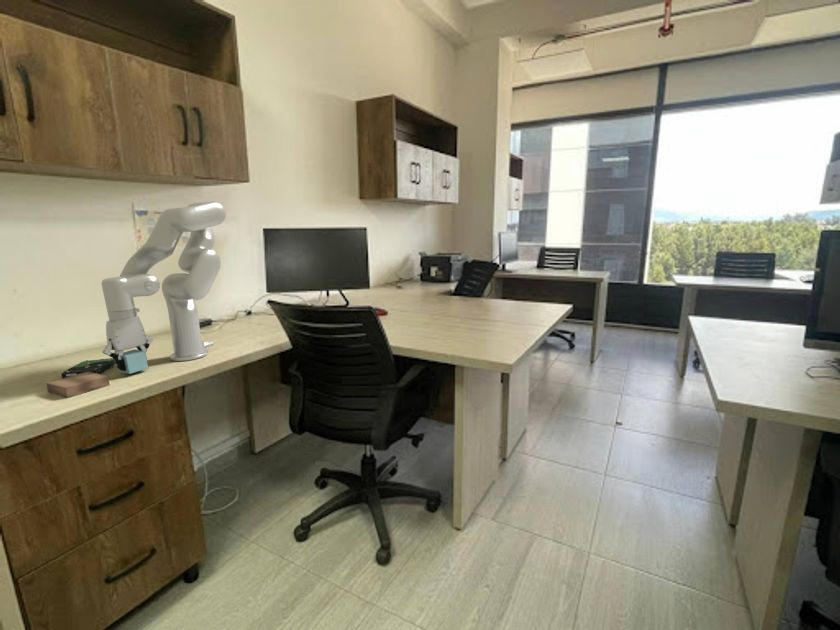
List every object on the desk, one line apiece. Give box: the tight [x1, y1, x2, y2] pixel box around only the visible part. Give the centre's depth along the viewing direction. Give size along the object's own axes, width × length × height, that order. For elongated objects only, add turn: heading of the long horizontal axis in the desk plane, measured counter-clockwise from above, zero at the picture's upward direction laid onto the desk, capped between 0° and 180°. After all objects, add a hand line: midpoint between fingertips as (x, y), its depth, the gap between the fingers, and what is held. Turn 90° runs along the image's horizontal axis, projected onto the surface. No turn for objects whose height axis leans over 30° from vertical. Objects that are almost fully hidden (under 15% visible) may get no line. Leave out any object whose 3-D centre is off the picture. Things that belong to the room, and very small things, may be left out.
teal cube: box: [118, 348, 149, 375], centre depth 139 cm, size 6×6×6 cm
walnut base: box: [46, 372, 110, 399], centre depth 126 cm, size 11×11×3 cm
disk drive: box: [60, 357, 117, 379], centre depth 143 cm, size 10×3×15 cm
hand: (133, 366), depth 140 cm, fingers closed on teal cube, 6 cm apart
